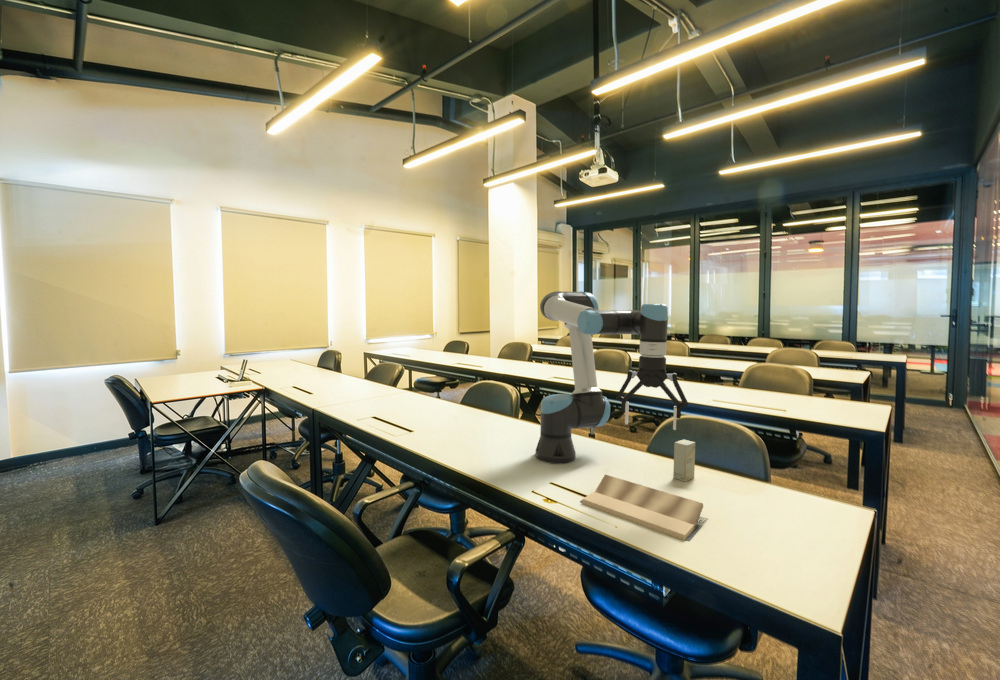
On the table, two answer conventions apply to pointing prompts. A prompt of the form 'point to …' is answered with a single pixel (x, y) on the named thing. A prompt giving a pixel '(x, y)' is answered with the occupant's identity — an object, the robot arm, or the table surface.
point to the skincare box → (684, 460)
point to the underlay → (643, 516)
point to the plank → (651, 499)
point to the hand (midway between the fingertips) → (650, 426)
